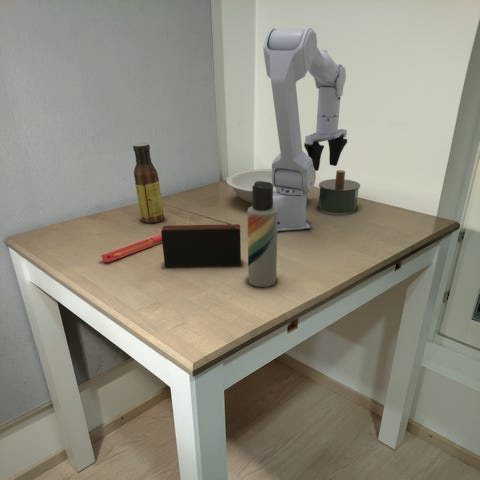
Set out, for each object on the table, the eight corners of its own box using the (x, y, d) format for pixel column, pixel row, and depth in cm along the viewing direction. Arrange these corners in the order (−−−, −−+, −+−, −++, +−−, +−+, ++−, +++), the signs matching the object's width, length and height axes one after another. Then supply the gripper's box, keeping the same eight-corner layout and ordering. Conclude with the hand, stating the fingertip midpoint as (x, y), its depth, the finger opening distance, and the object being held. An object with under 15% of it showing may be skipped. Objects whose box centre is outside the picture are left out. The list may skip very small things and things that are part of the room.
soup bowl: (215, 211, 134) (214, 188, 130) (240, 187, 153) (240, 166, 150) (299, 218, 128) (300, 193, 124) (313, 192, 147) (315, 171, 144)
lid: (326, 195, 125) (327, 177, 123) (313, 184, 135) (314, 167, 132) (366, 192, 127) (368, 175, 124) (351, 181, 136) (352, 165, 133)
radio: (240, 260, 105) (239, 193, 97) (240, 266, 102) (239, 198, 95) (157, 261, 105) (149, 195, 97) (155, 267, 103) (147, 199, 95)
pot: (325, 216, 129) (327, 193, 125) (314, 204, 137) (315, 182, 134) (361, 213, 130) (364, 190, 126) (348, 202, 139) (350, 180, 135)
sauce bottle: (166, 216, 131) (158, 141, 120) (161, 224, 126) (152, 146, 115) (143, 216, 132) (133, 141, 121) (137, 223, 126) (126, 146, 116)
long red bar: (99, 263, 107) (110, 263, 104) (96, 254, 106) (106, 253, 103) (179, 233, 122) (190, 232, 118) (177, 225, 121) (188, 224, 118)
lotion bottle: (259, 272, 99) (259, 177, 89) (281, 279, 96) (284, 181, 86) (242, 282, 96) (240, 183, 85) (265, 290, 93) (265, 189, 82)
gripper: (320, 120, 118) (317, 175, 126) (357, 113, 126) (352, 165, 133) (300, 117, 123) (298, 170, 130) (337, 111, 131) (333, 161, 138)
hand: (324, 167), depth 132 cm, fingers open, 7 cm apart
